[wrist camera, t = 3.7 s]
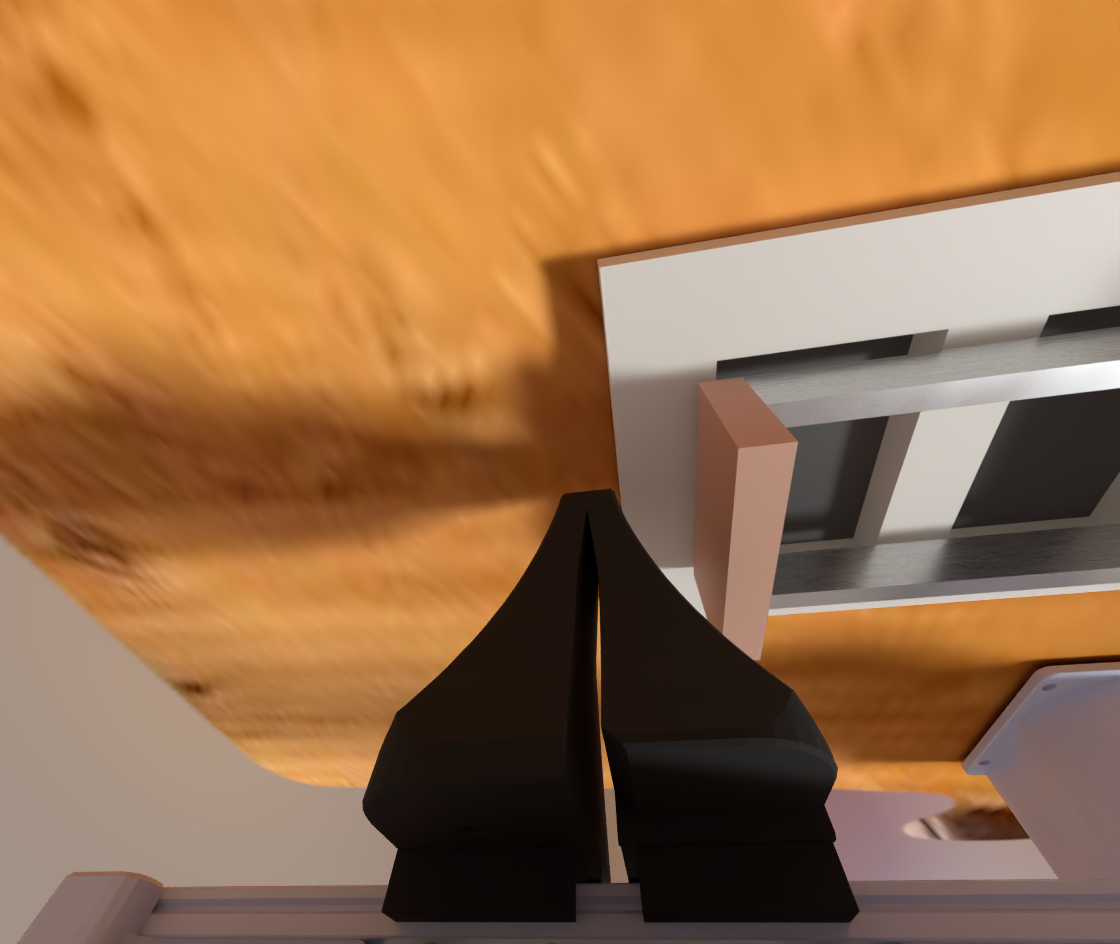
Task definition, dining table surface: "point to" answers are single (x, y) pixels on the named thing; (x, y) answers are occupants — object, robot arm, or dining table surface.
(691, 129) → the dining table surface
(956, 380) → the steel sled
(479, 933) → the robot arm
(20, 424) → the dining table surface
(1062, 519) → the track deck
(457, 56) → the dining table surface
